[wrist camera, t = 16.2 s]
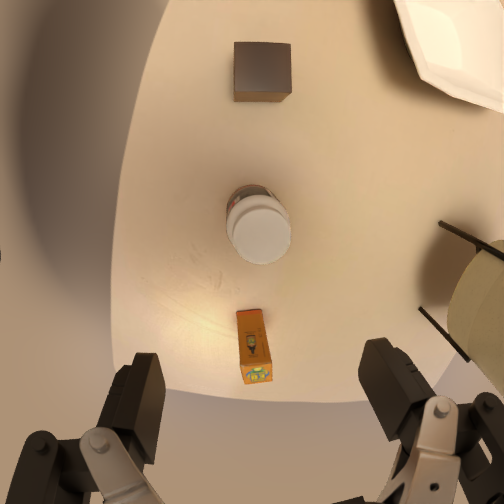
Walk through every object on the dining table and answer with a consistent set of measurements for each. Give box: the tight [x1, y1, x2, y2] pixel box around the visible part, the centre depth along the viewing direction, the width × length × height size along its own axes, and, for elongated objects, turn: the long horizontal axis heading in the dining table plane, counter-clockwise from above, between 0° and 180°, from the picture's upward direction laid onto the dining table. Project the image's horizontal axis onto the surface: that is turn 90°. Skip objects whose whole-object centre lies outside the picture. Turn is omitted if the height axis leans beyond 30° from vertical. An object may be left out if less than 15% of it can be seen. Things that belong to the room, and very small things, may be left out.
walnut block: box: [234, 42, 292, 102], centre depth 24 cm, size 5×5×6 cm
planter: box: [418, 221, 504, 397], centre depth 26 cm, size 15×16×23 cm
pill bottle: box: [226, 185, 291, 265], centre depth 27 cm, size 6×6×10 cm
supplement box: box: [236, 310, 272, 384], centre depth 33 cm, size 3×3×10 cm
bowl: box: [393, 0, 504, 114], centre depth 21 cm, size 22×23×8 cm
